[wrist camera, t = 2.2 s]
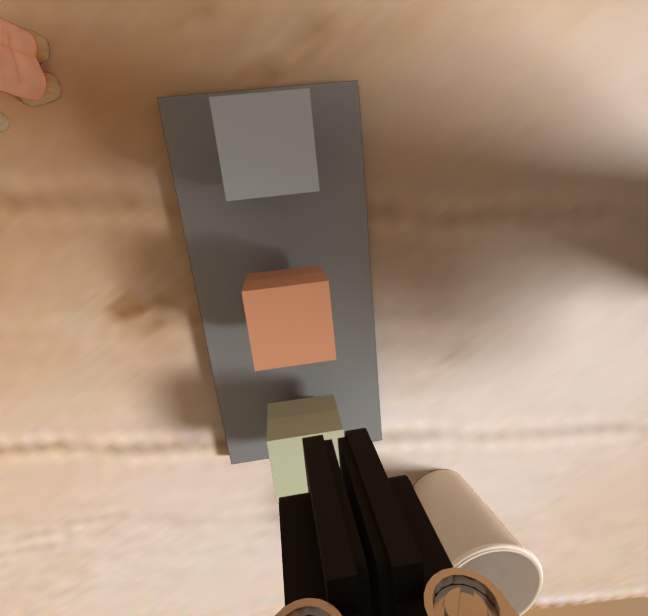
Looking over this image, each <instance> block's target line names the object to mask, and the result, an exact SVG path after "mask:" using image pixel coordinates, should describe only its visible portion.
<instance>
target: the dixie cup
mask: <svg viewBox="0 0 648 616" xmlns="http://www.w3.org/2000/svg"><path fill="white" fill-rule="evenodd" d="M413 488H414V490H415V492H416V494H417V496H418V498H419V500H420V502H421V504H422V506H423V508H424V510H425V512H426V514H427V516H428V518H429V520H430V522H431V524H432V526H433V527H434V529H435V531H436V533H437V535H438V537H439V539H440V541H441V543H442V545H443V547H444V549H445V551H446V553H447V555H448V557H449V559H450V561H451V563H452V565H453V567H456V568H466V569H469V570H472V571H475V572H478V573H480V574H481V575H483V576H484V577H486V578H487V579H489V580H490V581H491V582H492V583H493V584H494V585H495V586H496V587H497V588H498V589H499V590H500V591H501V592H502V594H503V595H504V596H505V598H506V599H507V600H508V602H509V603H510V604H511V606H512V607H513V608H514V609H515V611H516V612H517V613H518V615H519V616H521V615H523V614H524V613H525V612H526V611H527V610H528V609H529V608H530V607H531V606H532V605H533V603H534V602H535V600H536V599H537V597H538V595H539V593H540V590H541V587H542V582H543V571H542V567H541V564H540V562H539V561H538V559H537V558H536V556H535V555H534V554H533V553H532V552H530V551H529V550H527V549H526V548H524V547H523V546H522V545H521V543H520V542H519V541H518V540H517V539H516V538H515V537H514V535H513V534H512V533H511V532H510V531H509V530H508V529H507V527H506V526H505V525H504V524H503V523H502V522H501V520H500V519H499V518H498V517H497V516H496V515H495V514H494V512H493V511H492V510H491V509H490V508H489V507H488V506H487V504H486V503H485V502H484V501H483V500H482V499H481V498H480V496H479V495H478V494H477V493H476V492H475V491H474V489H473V488H472V487H471V486H470V485H469V484H468V483H467V481H466V480H465V479H464V478H463V477H462V476H461V475H460V474H459V473H457V472H455V471H452V470H446V469H442V470H436V471H433V472H430V473H428V474H426V475H424V476H423V477H422V478H420V479H419V480H418V481H417V483H416V484H415V485H414V487H413Z"/></svg>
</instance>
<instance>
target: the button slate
mask: <svg viewBox="0 0 648 616" xmlns="http://www.w3.org/2000/svg"><path fill="white" fill-rule="evenodd" d="M209 101H210V107H211V113H212V119H213V125H214V131H215V137H216V143H217V149H218V155H219V161H220V167H221V173H222V179H223V185H224V191H225V197H226V201H233V200H243V199H252V198H261V197H270V196H279V195H289V194H298V193H307V192H316V191H320V189H319V179H318V169H317V159H316V149H315V139H314V129H313V119H312V109H311V99H310V89H309V88H306V89H295V90H283V91H272V92H260V93H249V94H238V95H226V96H215V97H209Z"/></svg>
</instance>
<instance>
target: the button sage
mask: <svg viewBox="0 0 648 616" xmlns="http://www.w3.org/2000/svg"><path fill="white" fill-rule="evenodd" d="M317 435H323V437H324V440H329V439H332V442H333V445H334V449H335V452H336V456H337V459H338V463H339V466H340V462H339V451H338V438H341V437H344V430H343V426H342V423H341V419H340V416H339V412H338V408H337V405H336V401H335V398H334V394H330V395H323V396H316V397H309V398H303V399H296V400H289V401H283V402H276V403H269V404H268V406H267V447H268V453H269V459H270V465H271V470H272V476H273V482H274V488H275V494H276V500H277V504H279V498H280V497H285V496H291V495H296V494H302V493H308V486H307V478H306V469H305V461H304V452H303V443H302V438H305V437H311V436H317Z"/></svg>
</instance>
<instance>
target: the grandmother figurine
mask: <svg viewBox="0 0 648 616" xmlns="http://www.w3.org/2000/svg"><path fill="white" fill-rule="evenodd" d="M48 57H49V45H48V42H47V41H46V39H45V38H44V37H43V36H41V35H39V34H37V33H35V32H32V31H29V30H27V29H24V28H21V27H19V26H15V25H13V24H12V23H10V22H8V21H6V20H4V19H1V18H0V91H3V92H6V93H9V94H11V95H15V96H17V97H18V98H19V99H20V100H21V101H22V102H23V103H24V104H26V105H28V106H32V107H36V106H40V105H43V104H46V103H48V102H52V101H55V100H57V99H58V98H59V97H60V95H61V87H60V84H59V82H58V79H57V78H56V77H55V76H54V75H52V74H51V73H47V72H43V71H42V69H41V67H40V64H39V63H42V62H45V61H46V60H47V59H48ZM8 128H9V120H8V118H7V117H6V116H5V115H4V114H3V113H1V112H0V132H4V131H6V130H7V129H8Z"/></svg>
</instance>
